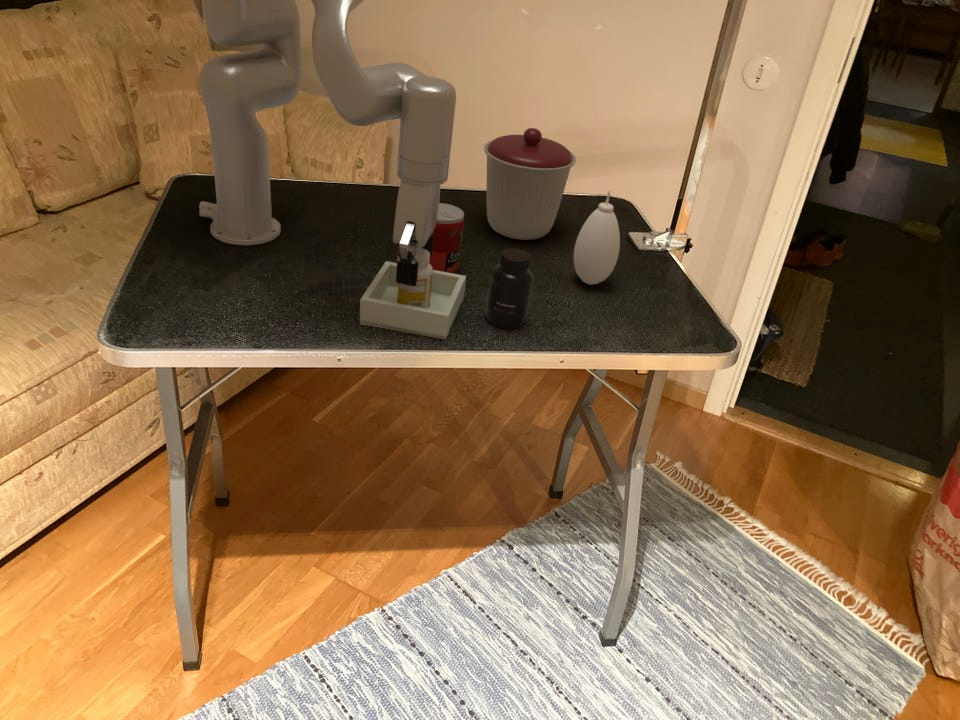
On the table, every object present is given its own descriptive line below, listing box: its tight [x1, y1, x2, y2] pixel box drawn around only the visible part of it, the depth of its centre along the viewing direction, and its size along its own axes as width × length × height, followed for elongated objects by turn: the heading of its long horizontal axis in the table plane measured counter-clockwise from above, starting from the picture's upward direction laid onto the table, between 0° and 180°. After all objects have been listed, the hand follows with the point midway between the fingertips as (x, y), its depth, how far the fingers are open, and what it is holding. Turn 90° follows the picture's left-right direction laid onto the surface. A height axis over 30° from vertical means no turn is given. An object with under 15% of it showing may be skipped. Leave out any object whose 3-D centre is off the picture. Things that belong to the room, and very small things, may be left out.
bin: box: [359, 260, 467, 341], centre depth 122 cm, size 14×14×4 cm
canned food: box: [429, 202, 465, 274], centre depth 134 cm, size 8×8×11 cm
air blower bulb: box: [573, 190, 621, 286], centre depth 134 cm, size 8×8×18 cm
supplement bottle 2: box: [485, 247, 534, 330], centre depth 121 cm, size 7×7×12 cm
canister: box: [483, 127, 577, 241], centre depth 149 cm, size 18×18×21 cm
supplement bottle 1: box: [397, 247, 433, 309], centre depth 120 cm, size 5×5×10 cm
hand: (414, 270), depth 119 cm, fingers open, 9 cm apart
